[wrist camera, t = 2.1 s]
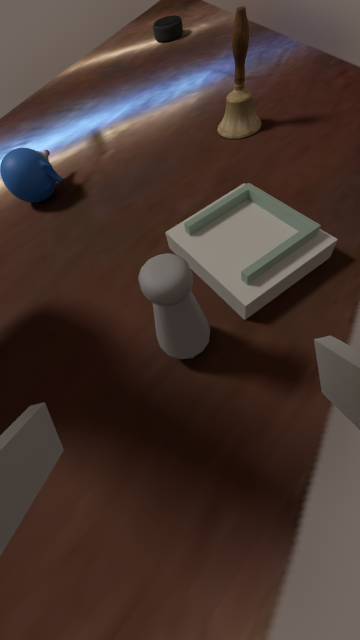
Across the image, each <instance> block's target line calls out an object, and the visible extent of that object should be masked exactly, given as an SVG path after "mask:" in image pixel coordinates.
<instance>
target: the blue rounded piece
mask: <svg viewBox="0 0 360 640" xmlns="http://www.w3.org/2000/svg"><path fill="white" fill-rule="evenodd" d="M49 154H50V153H49V151H48V150H45V151H44V152H43V153H42V152H39V151H35V150H32V149H28V148H18V149H15V150H12V151H10V152H9V153H8V154H6V156H5V157H4V158H3V160H2V163H1V169H0V170H1V176H2V179H3V182H4V184H5V185H6V187H7V188H8V190H9V191H10V192H11V193H12V194H13V195H15V196H16V197H18V198H19V199H21V200H24V201H27V202H32V203H35V202H41V201H44V200H46V199H47V198H49V197H50V196H51V195H52V193H53V192H54V189H55V186H56V181H57V182H63V179H62V178H61V177H60V176H59V175H58V174H57V173H56V172H55V171H54V169H53V168H52V166H51V164H50V163H49V160H48V156H49Z"/></svg>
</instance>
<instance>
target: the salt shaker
mask: <svg viewBox="0 0 360 640" xmlns="http://www.w3.org/2000/svg"><path fill="white" fill-rule="evenodd" d="M138 278H139V283H140V286H141V290H142V292H143V294H144V295H145V297H147V298H148V299H149V300H150V301H151V302H152V303H153V309H154V317H155V325H156V333H157V339H158V342H159V345H160V347H161V348H162V349H163V350H164V351H165V352H166V353H167V354H168V355H169V356H171V357H174V358H178V359H187V358H194V357H195V356H196V355H198V354H199V353H201V352H202V351H203V350H204V349H205V347H206V346H207V344H208V343H209V336H210V327H209V325H208V323H207V320H206V318H205V316H204V314H203V312H202V311H201V309H200V307H199V305H198V303H197V301H196V299H195V297H194V295H193V294H192V292H191V289H192V283H193V274H192V272H191V269H190V267H189V265H188V263H187V261H186V260H185V259H183V258H182V257H180V256H179V255H174V254H169V253H167V254H161V255H157V256H155V257H153V258H151V259H149V260H148V261H147V262H146V263H145V265H144V266H143V267H142V268H141V271H140V274H139V277H138Z"/></svg>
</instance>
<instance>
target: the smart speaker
mask: <svg viewBox="0 0 360 640" xmlns="http://www.w3.org/2000/svg"><path fill="white" fill-rule="evenodd" d="M153 30H154V35H155V39H156V40H157V41H158V42H169V41H173V40H175V39H177V38H179V37H180V36H181V35H182V33H183V28H182V20H181V18H180V17H179V16H168V17H164V18H161V19H159V20H157V21H156V22H155V23H154V25H153Z"/></svg>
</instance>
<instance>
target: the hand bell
mask: <svg viewBox="0 0 360 640" xmlns="http://www.w3.org/2000/svg"><path fill="white" fill-rule="evenodd" d="M248 42H249V26H248V20H247V16H246V9H245V7H239V8H237V10H236V16H235V21H234V25H233V30H232V49H233V55H234V59H235V84H234V90H233V91H232V92H231V93H230V94H229V95H228V96H227V103H226V111H225V115H224V118H223V120H222V121H221V123H220V124H219V126H218V133H219V134H220V135H221V136H222V137H225V138H229V139H239V138H245V137H248V136H250V135H252V134H254V133H256V132H257V131H258V130H259V129H260V128H261V125H262V123H261V120H260V118H259V117H258V116H257V115H256V114H255V111H254V108H253V100H252V92H251V91H250V90H247V89H245V87H244V82H245V78H244V77H245V58H246V54H247V49H248Z"/></svg>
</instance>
